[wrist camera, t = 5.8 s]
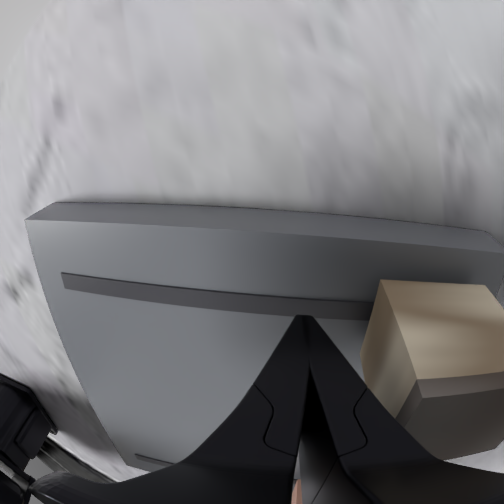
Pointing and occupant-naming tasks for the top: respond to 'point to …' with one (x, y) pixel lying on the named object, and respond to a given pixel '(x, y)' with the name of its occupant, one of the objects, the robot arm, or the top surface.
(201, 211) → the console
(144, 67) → the top surface
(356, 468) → the robot arm
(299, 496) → the block
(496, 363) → the block
